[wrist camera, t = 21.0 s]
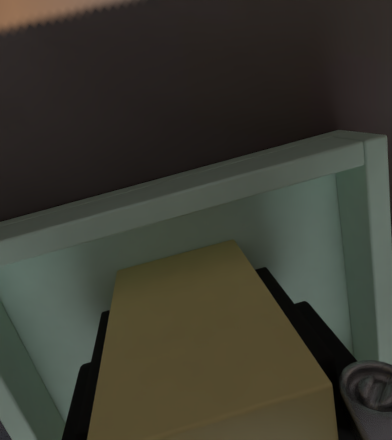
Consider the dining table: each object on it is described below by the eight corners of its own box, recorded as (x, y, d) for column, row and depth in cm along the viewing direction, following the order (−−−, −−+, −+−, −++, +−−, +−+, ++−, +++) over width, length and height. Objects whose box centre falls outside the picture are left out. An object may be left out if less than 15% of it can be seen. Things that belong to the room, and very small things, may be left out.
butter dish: (339, 129, 10) (388, 133, 8) (361, 368, 13) (400, 415, 11) (-44, 233, 9) (-96, 267, 7) (76, 458, 12) (63, 525, 10)
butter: (116, 269, 10) (81, 460, 4) (234, 238, 10) (333, 384, 5) (161, 398, 11) (174, 647, 6) (260, 369, 11) (355, 584, 6)
